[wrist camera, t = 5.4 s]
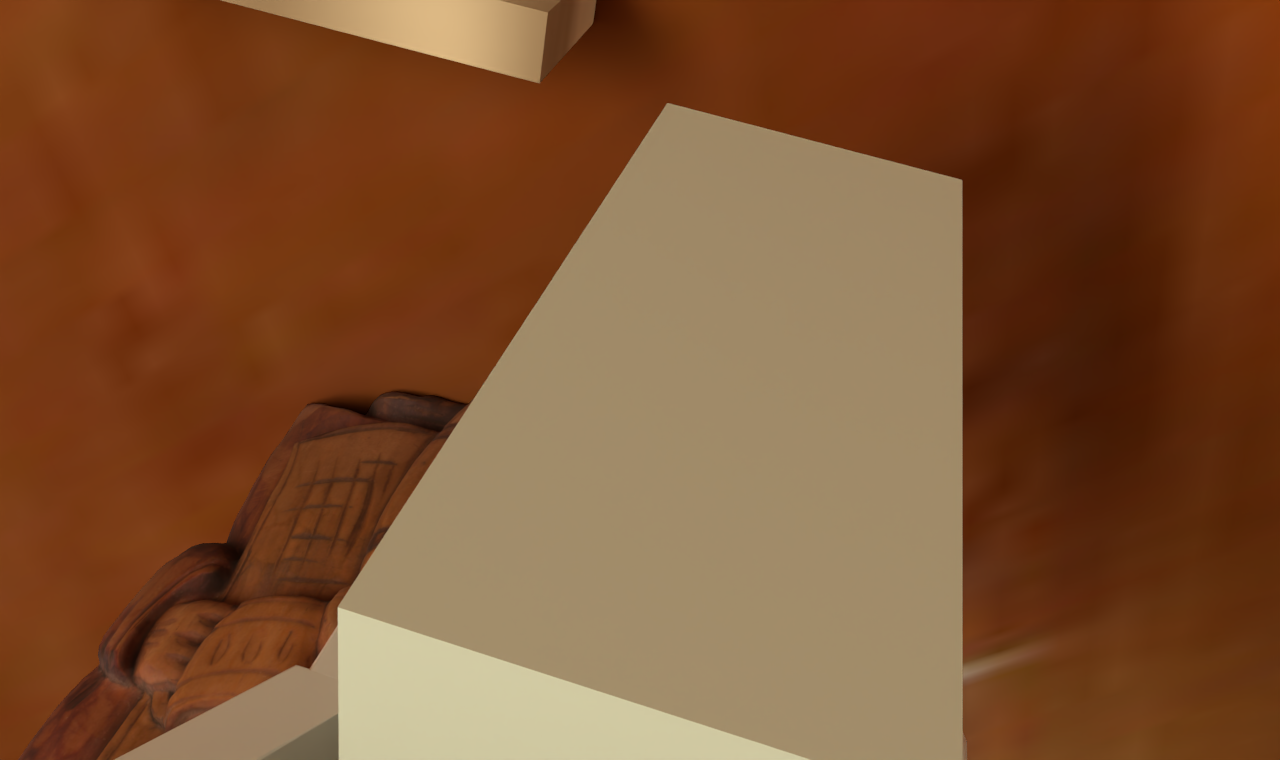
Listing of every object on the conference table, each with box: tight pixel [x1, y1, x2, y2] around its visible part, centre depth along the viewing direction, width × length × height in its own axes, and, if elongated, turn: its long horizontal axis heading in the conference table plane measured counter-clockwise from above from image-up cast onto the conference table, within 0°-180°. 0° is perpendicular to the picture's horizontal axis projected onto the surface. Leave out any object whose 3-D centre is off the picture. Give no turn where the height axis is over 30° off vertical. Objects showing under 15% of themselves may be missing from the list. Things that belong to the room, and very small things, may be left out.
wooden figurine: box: [18, 392, 473, 760], centre depth 26 cm, size 12×6×18 cm, turn 96°
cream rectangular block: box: [338, 103, 963, 760], centre depth 11 cm, size 3×10×7 cm, turn 170°
